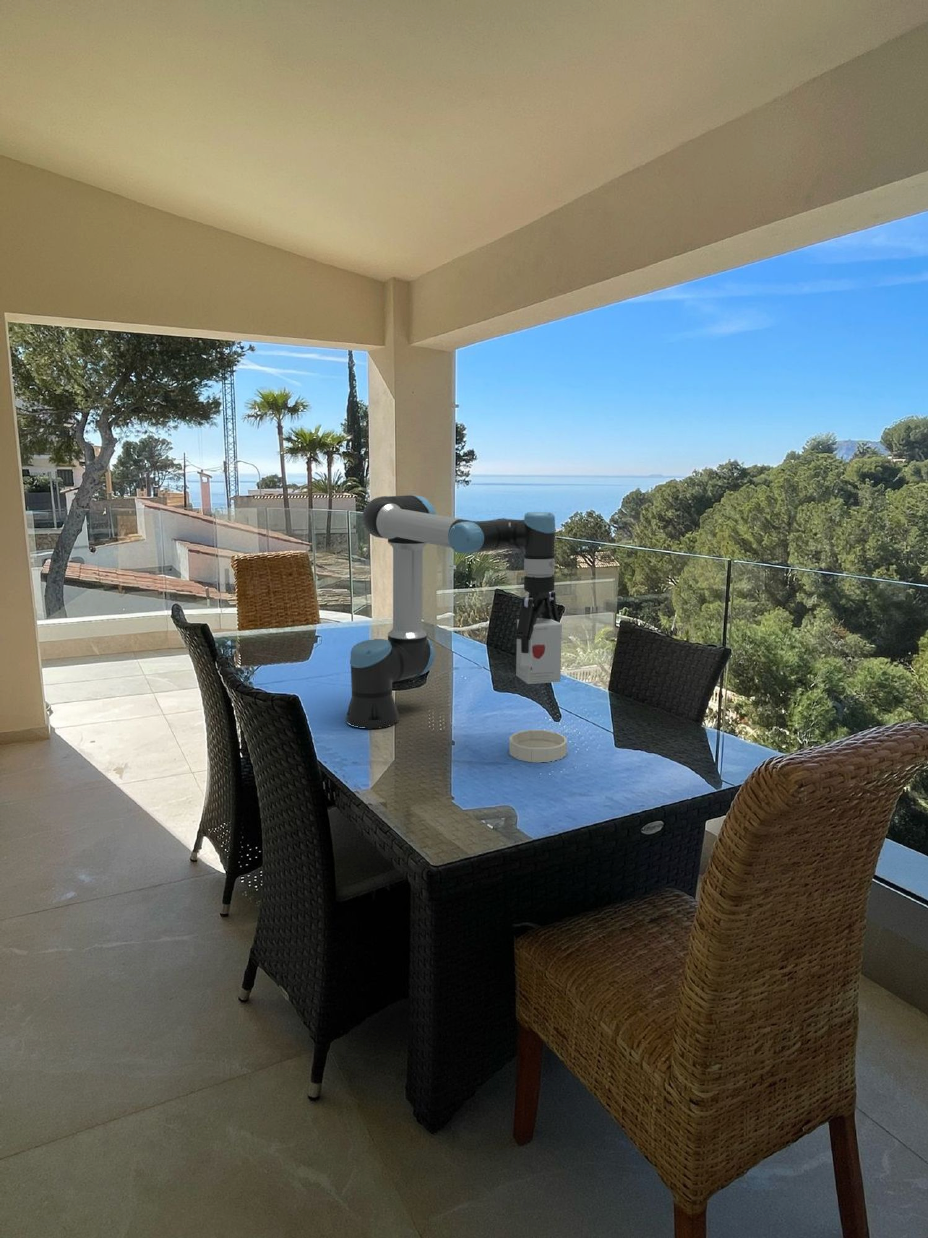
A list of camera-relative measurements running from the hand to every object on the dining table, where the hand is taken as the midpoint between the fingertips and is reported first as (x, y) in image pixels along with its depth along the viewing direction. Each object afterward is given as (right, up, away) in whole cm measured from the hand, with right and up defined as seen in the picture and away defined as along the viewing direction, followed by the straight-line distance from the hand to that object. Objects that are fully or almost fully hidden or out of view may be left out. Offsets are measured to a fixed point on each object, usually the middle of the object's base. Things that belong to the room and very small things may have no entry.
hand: (538, 660), depth 194 cm
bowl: (0, -24, +5) cm, 24 cm away
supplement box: (0, -5, +1) cm, 5 cm away
